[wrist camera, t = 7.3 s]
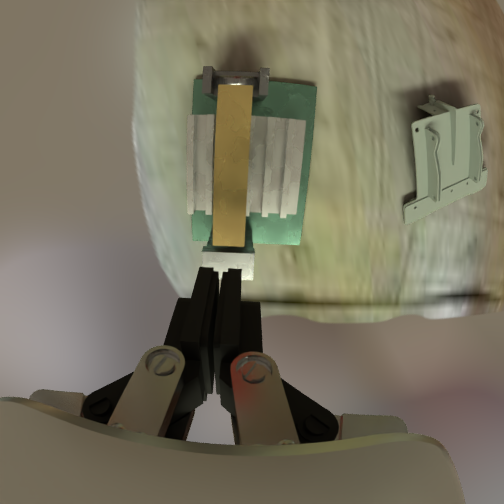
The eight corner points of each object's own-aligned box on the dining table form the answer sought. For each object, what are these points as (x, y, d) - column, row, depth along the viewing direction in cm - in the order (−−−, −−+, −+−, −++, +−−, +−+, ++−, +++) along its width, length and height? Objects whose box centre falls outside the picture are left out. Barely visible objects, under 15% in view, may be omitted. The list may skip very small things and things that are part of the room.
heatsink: (195, 80, 21) (175, 66, 14) (315, 87, 21) (341, 77, 15) (193, 238, 28) (178, 276, 21) (298, 242, 29) (313, 281, 22)
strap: (216, 77, 17) (214, 74, 16) (257, 78, 17) (258, 75, 16) (210, 241, 21) (208, 245, 20) (248, 242, 22) (248, 247, 21)
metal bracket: (405, 126, 18) (499, 100, 15) (371, 107, 22) (465, 84, 19) (412, 241, 27) (491, 199, 24) (389, 212, 31) (466, 177, 29)
